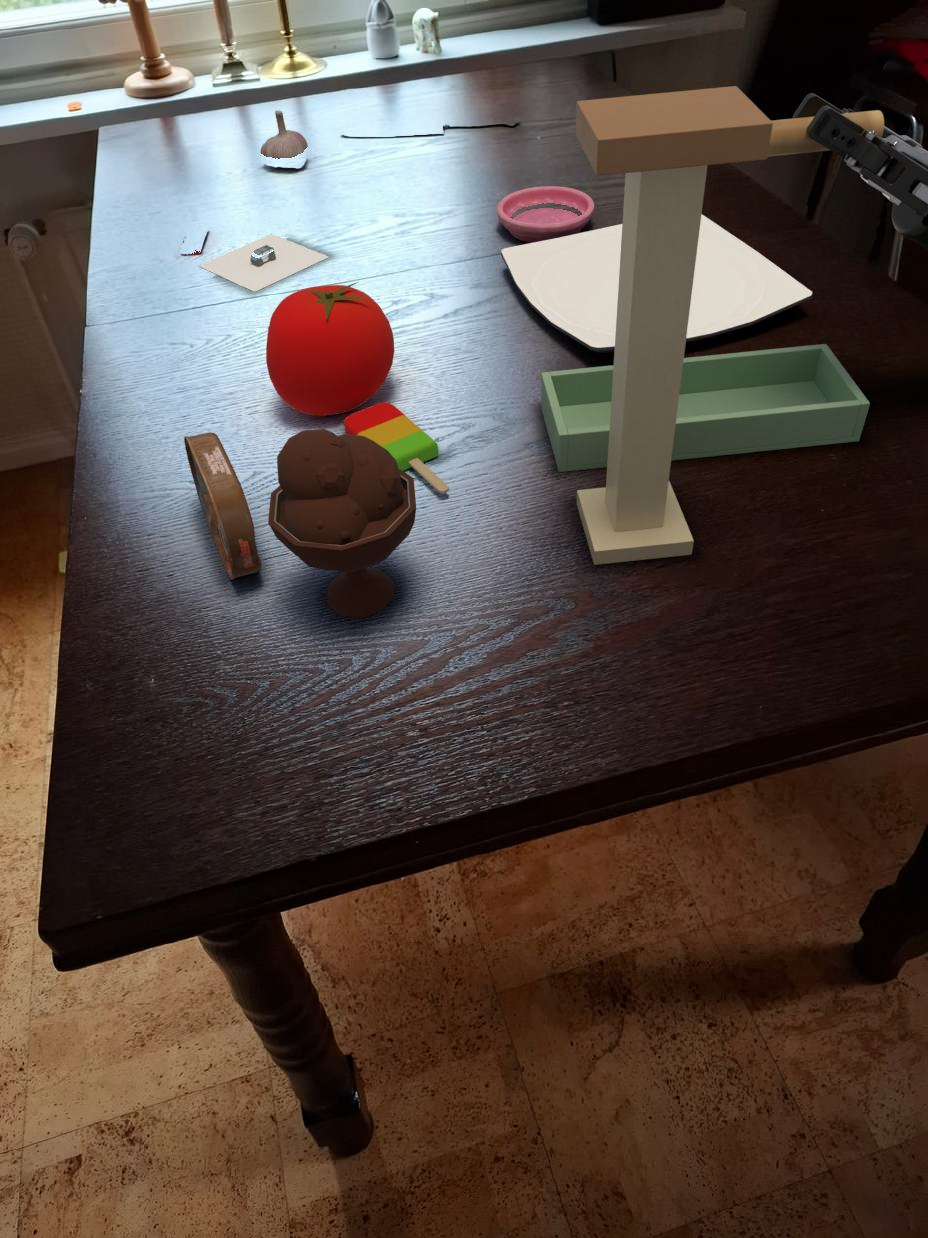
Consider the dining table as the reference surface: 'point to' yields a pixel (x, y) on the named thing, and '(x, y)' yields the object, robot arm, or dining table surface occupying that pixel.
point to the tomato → (328, 349)
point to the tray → (716, 406)
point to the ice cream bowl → (343, 513)
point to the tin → (223, 504)
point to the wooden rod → (795, 140)
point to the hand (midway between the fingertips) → (809, 113)
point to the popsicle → (397, 439)
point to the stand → (655, 295)
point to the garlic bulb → (284, 142)
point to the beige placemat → (263, 262)
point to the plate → (589, 279)
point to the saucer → (545, 213)
